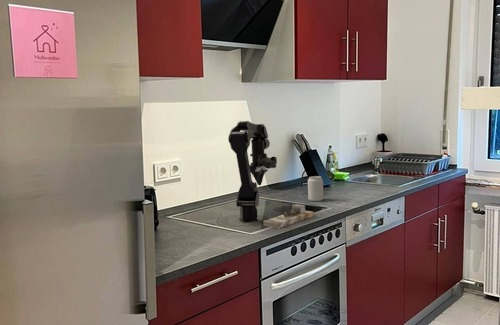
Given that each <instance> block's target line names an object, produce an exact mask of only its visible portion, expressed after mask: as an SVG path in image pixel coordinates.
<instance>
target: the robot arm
mask: <svg viewBox="0 0 500 325" xmlns="http://www.w3.org/2000/svg"><path fill="white" fill-rule="evenodd" d="M227 138H228V139H227V140H228V143H229V145H230V149H231V150H232V151H233V152H234V153H235V154H236V155H235V156H236V162H237V167H238V173H239V179H240V183H241V184H240V187H239V189H238V194H237V198H236V203H235V204H236V207H239V215H240V216H239V218H238V220H239V221H241V222H243V223H249V222H255V221H259V218H258V208H257V207H258V206H259V205H260V204H259V203H260V201H259V200H260V191H259V189H258V186H261V185H262V183H263V180H264V179H263V178H264V176H265V174H266V172H268V171H269V169H276V168H277V163H278V161H277V159H278V158H277V157H276V156H271V157H268V154H267V153H265V150H267V149H268V148H269V147H270V145H271V142H270V140H269V139H268V138H269V135H268V132H267V127H266V126H265V124H264V123H256V124H255V123H253V122H251V121H249V120H240V121H238V122H237V124H236V125H235V126H234V127H232V128H231V130H230V132H229V135H228V137H227ZM250 144H251V153H250V154H248V150H249V146H250ZM249 157H251V159H252V160H251V161H252V162H250V159H249ZM252 177H253V178H254V180H255V182H254V181H253V179H252Z"/></svg>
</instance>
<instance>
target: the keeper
mask: <svg viewBox="0 0 500 325" xmlns="http://www.w3.org/2000/svg"><path fill="white" fill-rule="evenodd" d="M297 208H299V214H304V213H305V211H306V205H305V204H297V203H295V204H292V205H291V210H294V209H297Z"/></svg>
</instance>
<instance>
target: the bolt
mask: <svg viewBox="0 0 500 325" xmlns="http://www.w3.org/2000/svg"><path fill="white" fill-rule="evenodd" d="M281 206H282V207H281V209H282V215H284V217H287V216H290V215H294V214H297V213H299V208H297V209H294V210H292V208H291V204H282V205H281Z"/></svg>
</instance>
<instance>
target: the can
mask: <svg viewBox="0 0 500 325" xmlns="http://www.w3.org/2000/svg"><path fill="white" fill-rule="evenodd" d="M307 194H308V195H307V196H308V200H309V201H310V202H313V201H318V202H322V201H323V200H324V179H323V178H322V176H320V175H319V176H318V175H314V176H309V177H308V179H307Z"/></svg>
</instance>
